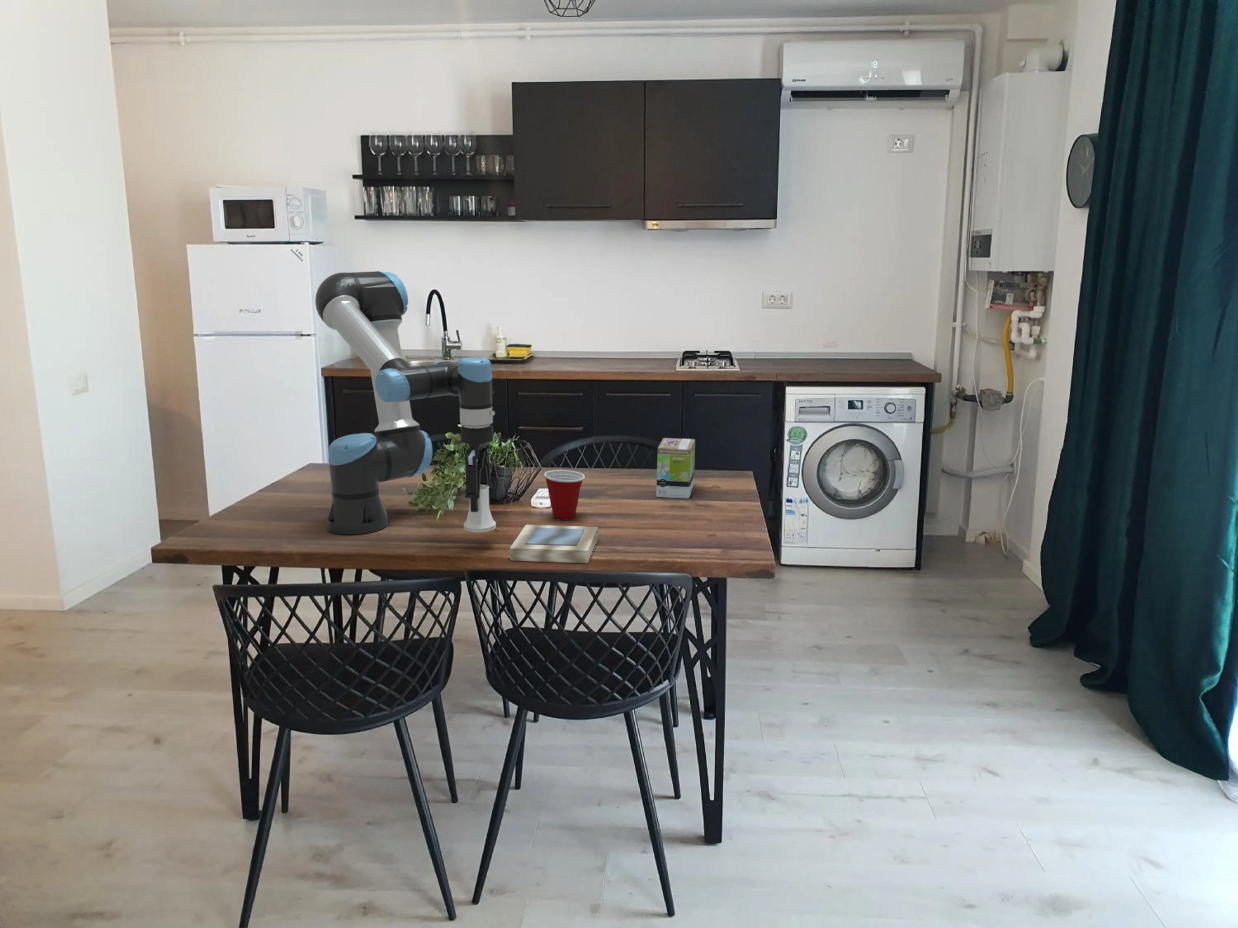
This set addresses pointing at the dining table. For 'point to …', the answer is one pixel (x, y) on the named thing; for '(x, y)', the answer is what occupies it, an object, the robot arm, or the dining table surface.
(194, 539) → the dining table surface
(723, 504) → the dining table surface
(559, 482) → the plastic cup
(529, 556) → the plinth
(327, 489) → the dining table surface
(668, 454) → the tea box
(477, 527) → the white flared tube
